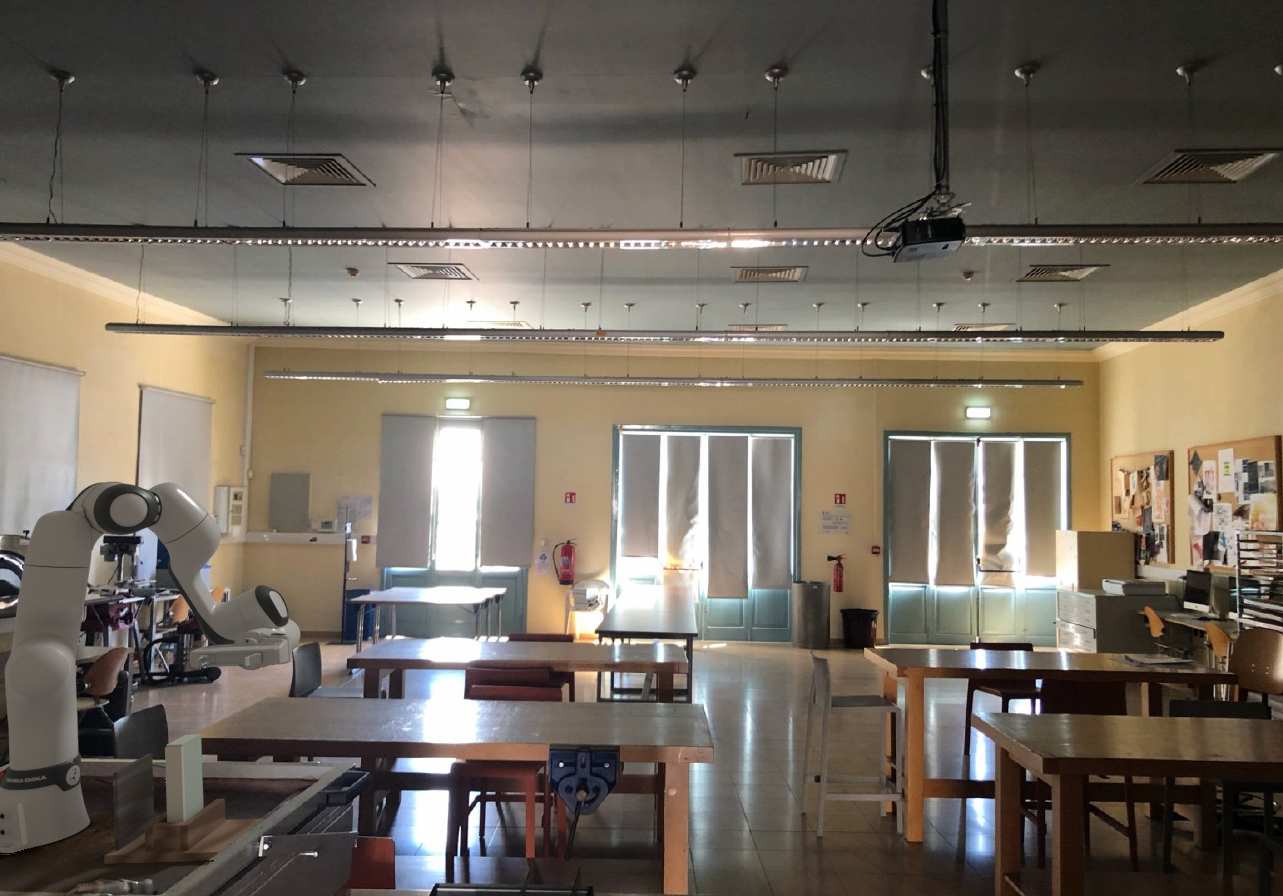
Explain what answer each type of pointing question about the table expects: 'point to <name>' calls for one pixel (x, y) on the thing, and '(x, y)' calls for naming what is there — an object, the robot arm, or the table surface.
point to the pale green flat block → (184, 778)
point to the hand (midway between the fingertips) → (220, 663)
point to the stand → (164, 823)
